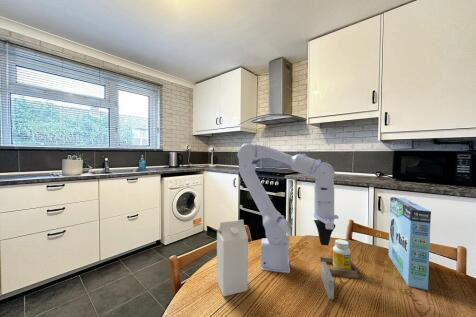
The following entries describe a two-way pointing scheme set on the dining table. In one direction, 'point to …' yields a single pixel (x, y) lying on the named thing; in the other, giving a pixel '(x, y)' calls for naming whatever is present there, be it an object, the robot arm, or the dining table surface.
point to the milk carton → (232, 257)
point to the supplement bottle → (341, 255)
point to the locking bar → (327, 280)
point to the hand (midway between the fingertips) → (324, 244)
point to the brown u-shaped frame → (341, 272)
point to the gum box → (410, 241)
